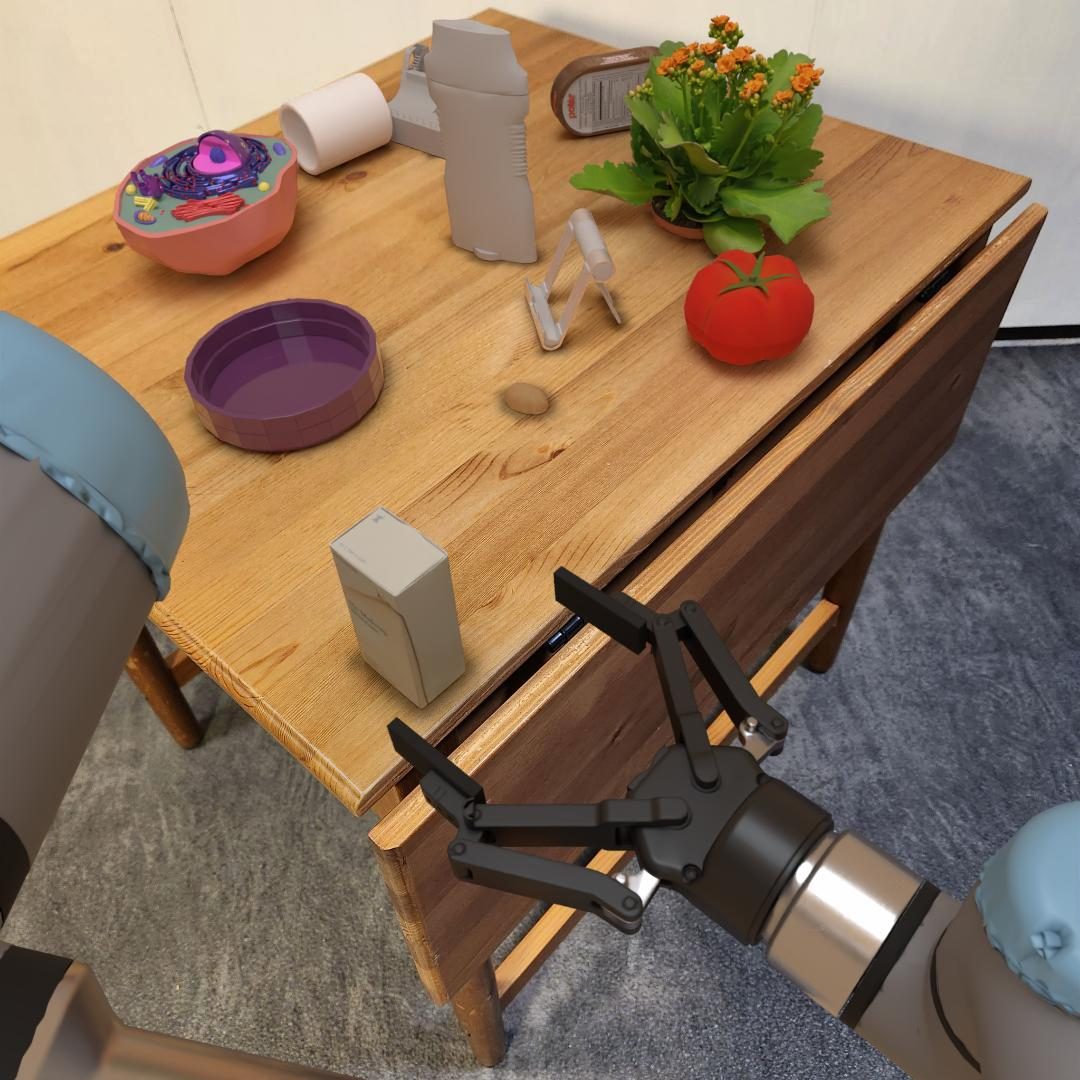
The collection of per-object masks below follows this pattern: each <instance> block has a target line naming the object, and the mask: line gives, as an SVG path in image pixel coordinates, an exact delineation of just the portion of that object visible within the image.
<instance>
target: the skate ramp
mask: <svg viewBox="0 0 1080 1080" xmlns="http://www.w3.org/2000/svg"><path fill="white" fill-rule="evenodd" d="M429 51H430V47H429V45H426V44H422V43H418V42H417V43H414V44H413V45H410V46H409V47H406V49H405V51H404V52H403V59H402V69H401V76H400V77H401V78H400V84H399V88H398V91H397V93H396V95H395V96H394V97H393V99H391V100H390V101H388V102H387V104H388V107H389V110H390V114H391V118H392V136H391V139H390V141H391V142H395V143H397V144H400V145H403V146H405V147H406V146H407V147H409V148H411V149H415V150H418V151H420V152H424V153H426V154H429V155H432V156H435V157H438V158H441V159H445V158H444V157H443V155H444V153H443V148H442V146H443V144H442V140H441V136H440V134H441V132H440V131H439V130H440V126H439V121H438V120H437V119H438V116H437V114H436V110H435V109H436V108H437V106H436V104H435V103H434V101H433V100H432V98H431V97H430V94H429V90H428V85H427V79H426V72H425V64H424V56H425V55H426V54H427V53H428V52H429ZM412 56H413V58H412V59H413V60H412V61H411V57H412ZM411 62H412V63H411ZM410 63H411V64H410Z"/></svg>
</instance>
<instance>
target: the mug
mask: <svg viewBox="0 0 1080 1080" xmlns="http://www.w3.org/2000/svg"><path fill="white" fill-rule="evenodd" d="M387 103H388V102H387V100H386V98H385V96H384V94H383V92H382V90H381V88H380V87H379V86H378V84H377V83H376V82H375V81H374V80H373V78H371V77H370V76H369V75H368V74H366V73H363V72H355V73H352V74H350V75H348V76H346V77H342V78H340V79H338V80H335V81H333V82H331V83H328V84H326V85H323V86H321V87H318V88H316V89H313V90H311V91H308V92H306V93H303V94H301V95H299V96H296V97H293V98H291V99H288V100H286V101H283V102H282V103H281V105H280V107H279V109H278V110H279V111H278V121H279V127H280V130H281V134H282V136H283V137H282V138H283V139H286V140H287V141H289V142H291V143H292V144H293V145H294V146H295V147H296V150H297V153H298V165H299V166H300V168H302V169H303V170H304V171H305V172H306V173H307V174H310V175H313V176H317V175H320V174H322V173H324V172H326V171H329V170H331V169H333V168H335V167H338V166H341V165H343V164H344V163H347V162H349V161H351V160H353V159H355V158H358V157H360V156H362V155H365V154H367V153H369V152H371V151H373V150H376V149H378V148H380V147H382V146H384V145H387V144H388V143H389V142H390V141H391V140H390V139H391V136H392V118H391V114H390V110H389V107H388V104H387Z"/></svg>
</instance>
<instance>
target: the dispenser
mask: <svg viewBox="0 0 1080 1080" xmlns="http://www.w3.org/2000/svg"><path fill="white" fill-rule="evenodd" d="M431 32H432V33H431V45H430V46H431V47H430V49H429V52H428V53H427V54H426V55H425V56H424V64H425V72H426V79H427V85H428V90H429V94H430V97H431V98H432V100H433V101H434V103H435V104H436V106H437V108H436V109H435V110H436V114H437V116H438V119H437V120H438V121H439V126H440V130H439V131H440V132H441V134H440V136H441V140H442V144H443V146H442V148H443V153H444V155H443V157H444V158H443V159H444V160H445V165H444V166H445V167H444V174H443V181H444V188H445V189H444V190H445V197H446V203H447V204H446V205H447V211H448V217H449V224H450V232H451V238H452V243H453V244H454V246H456V247H458V248H461V249H463V250H465V251H469V252H470V253H474V255H475V256H476V257H477V258H479V259H481V260H483V261H488V262H490V261H491V262H492V261H493V262H495V261H505V262H506V261H507V262H513V263H520V264H532V263H535V262H537V261H538V253H537V251H538V250H537V240H536V239H537V238H536V224H535V223H536V222H535V210H534V197H533V191H532V188H531V183H530V181H529V178H528V173H529V170H528V168H529V167H528V163H529V161H528V160H527V159H528V157H527V156H528V153H527V152H528V149H527V144H526V142H527V138H526V137H527V133H526V131H527V125H528V124H527V123H526V122H525V120H526V118H527V116H528V115H529V113H530V89H529V75H528V72H527V71H526V69H524V68H523V66H522V65H521V64H519V61H518V59H517V55H516V52H515V48H514V44H513V42H512V37H511V32H510V31H509V30H507V29H504V28H501V27H497V26H493V25H489V24H487V23H484V22H481V21H478V20H475V19H471V18H470V19H469V18H460V19H433V20H432V29H431Z"/></svg>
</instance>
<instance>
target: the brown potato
mask: <svg viewBox="0 0 1080 1080" xmlns="http://www.w3.org/2000/svg"><path fill="white" fill-rule="evenodd" d="M507 387H508V388H507V389H506V391H505V403H506V405H507V407H509V408H510V409H512V410H513V411H516V412H518V413H522V414H525V415H529V416H530V415H533V416H534V415H541V414H544V413H545V412H546V411H548V409H549V407H550V405H549V401H548V398H547V394H546V393H545V392H544V391H543V390H542V389H540V388H539V387H538V386H536V385H534V384H531V383H527V382H516V383H513V384H510V385H509V386H507Z"/></svg>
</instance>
